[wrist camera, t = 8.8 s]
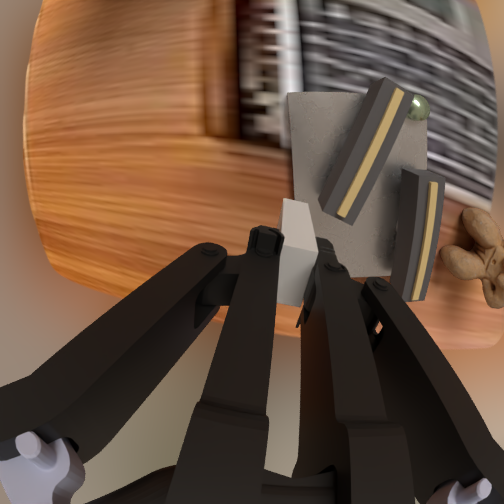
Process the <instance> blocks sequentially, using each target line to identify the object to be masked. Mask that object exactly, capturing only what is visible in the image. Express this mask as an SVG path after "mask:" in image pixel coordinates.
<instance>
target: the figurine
mask: <svg viewBox="0 0 504 504" xmlns="http://www.w3.org/2000/svg"><path fill="white" fill-rule="evenodd" d="M462 221H463V224H464V226H465V229H466V231H467V232H468V234H469V235H470V236H472V237H473V238H474V240H475V245H474V246H473V248H472V249H471V250H470V251H466V250H464V249H462V248H460V247H458V246H454V245H449V246H444V247H443V248H442V249H441V251H440V255H441V258H442V261H443V262H444V264H445V266H446V267H447V268H448V270H449V271H450V272H451V273H452V274H453V275H454V276H455V277H457V278H459V279H462V280H472V279H477V278H478V279H480V280H481V281H482V285H483V292H484V296H485V299H486V302H487V304H488V305H489V306H490V307H491V308H497V309H499V308H502V307H504V239H503V237H502V235H501V232H500V229H499V226H498V225H497V223H496V222H495V221H494V220H493V219H492V217H491V216H490V215H489V214H488V213H487V212H485V211H483V210H481V209H478V208H466V209H464V210H463V212H462Z"/></svg>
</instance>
